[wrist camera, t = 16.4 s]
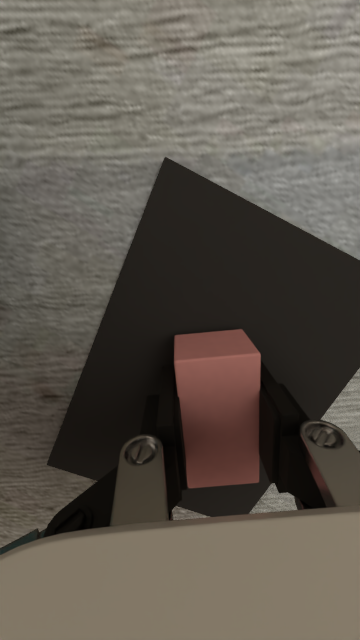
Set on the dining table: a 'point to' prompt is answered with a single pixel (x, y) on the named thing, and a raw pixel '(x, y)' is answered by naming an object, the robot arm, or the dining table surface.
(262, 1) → the dining table surface
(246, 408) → the eraser
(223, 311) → the mat
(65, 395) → the dining table surface
